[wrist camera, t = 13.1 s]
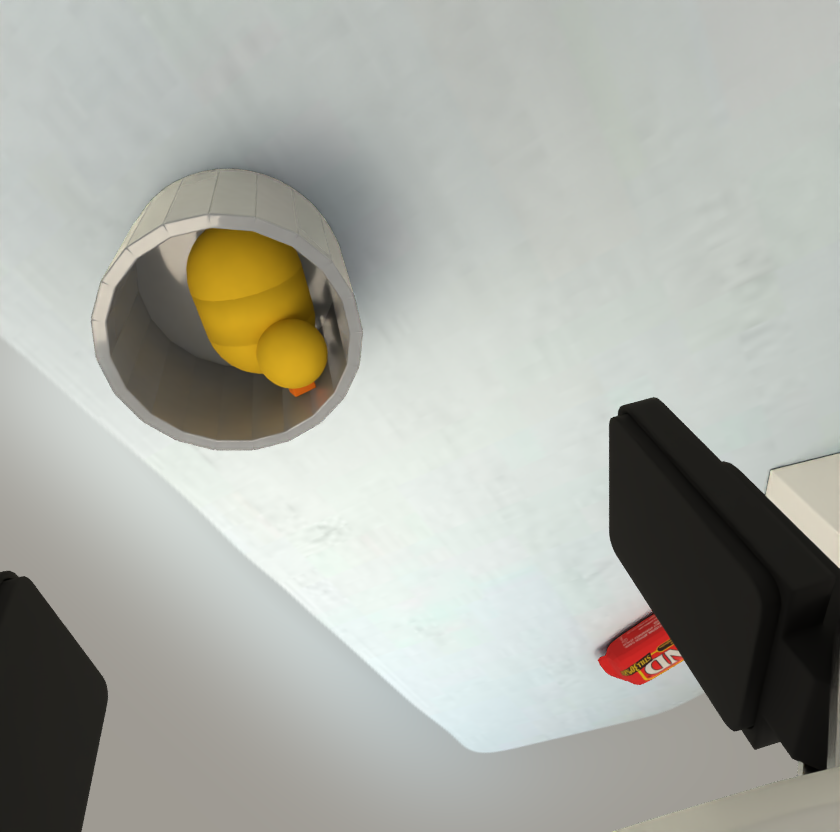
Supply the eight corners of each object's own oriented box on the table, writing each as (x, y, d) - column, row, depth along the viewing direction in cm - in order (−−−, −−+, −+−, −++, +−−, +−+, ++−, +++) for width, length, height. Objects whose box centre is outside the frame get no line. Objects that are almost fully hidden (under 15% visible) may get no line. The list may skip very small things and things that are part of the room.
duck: (153, 229, 26) (206, 263, 22) (257, 194, 28) (327, 219, 24) (212, 373, 30) (268, 429, 25) (300, 334, 32) (367, 379, 27)
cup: (88, 196, 27) (40, 252, 21) (313, 145, 27) (327, 185, 22) (175, 389, 32) (156, 476, 26) (363, 342, 33) (384, 416, 27)
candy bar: (775, 529, 47) (803, 558, 44) (790, 554, 49) (819, 584, 46) (588, 648, 50) (605, 682, 48) (610, 667, 52) (627, 701, 49)
